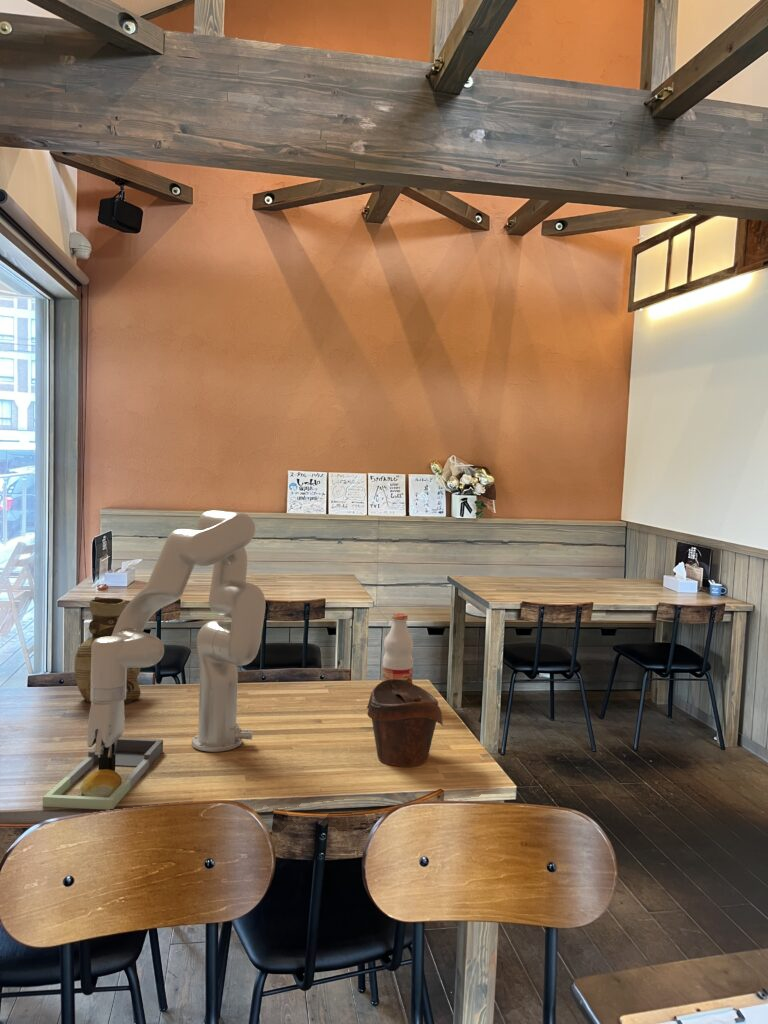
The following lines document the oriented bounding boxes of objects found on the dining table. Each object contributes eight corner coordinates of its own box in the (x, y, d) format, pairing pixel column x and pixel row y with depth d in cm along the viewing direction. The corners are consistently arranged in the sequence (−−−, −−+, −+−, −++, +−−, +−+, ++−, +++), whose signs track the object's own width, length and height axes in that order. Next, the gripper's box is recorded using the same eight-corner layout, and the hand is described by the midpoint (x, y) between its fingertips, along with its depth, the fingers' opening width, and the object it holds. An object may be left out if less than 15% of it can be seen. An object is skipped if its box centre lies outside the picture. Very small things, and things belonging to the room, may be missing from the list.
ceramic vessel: (154, 704, 219) (156, 604, 217) (77, 712, 208) (79, 608, 207) (141, 687, 235) (143, 594, 234) (70, 694, 225) (72, 597, 224)
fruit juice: (391, 698, 233) (394, 610, 232) (416, 703, 229) (420, 614, 227) (375, 705, 225) (378, 615, 224) (401, 711, 221) (405, 619, 219)
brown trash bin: (423, 779, 171) (426, 703, 171) (350, 760, 181) (353, 688, 180) (454, 756, 187) (457, 686, 186) (385, 740, 196) (388, 674, 196)
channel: (162, 751, 182) (163, 739, 182) (112, 809, 150) (112, 795, 150) (105, 748, 182) (105, 737, 182) (42, 806, 151) (42, 792, 150)
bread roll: (121, 780, 165) (122, 762, 165) (120, 797, 157) (121, 778, 157) (82, 783, 163) (82, 765, 162) (78, 801, 154) (79, 782, 154)
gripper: (105, 682, 172) (104, 759, 173) (77, 701, 157) (75, 785, 158) (137, 684, 172) (135, 760, 173) (111, 703, 157) (109, 787, 158)
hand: (106, 772), depth 166 cm, fingers closed
